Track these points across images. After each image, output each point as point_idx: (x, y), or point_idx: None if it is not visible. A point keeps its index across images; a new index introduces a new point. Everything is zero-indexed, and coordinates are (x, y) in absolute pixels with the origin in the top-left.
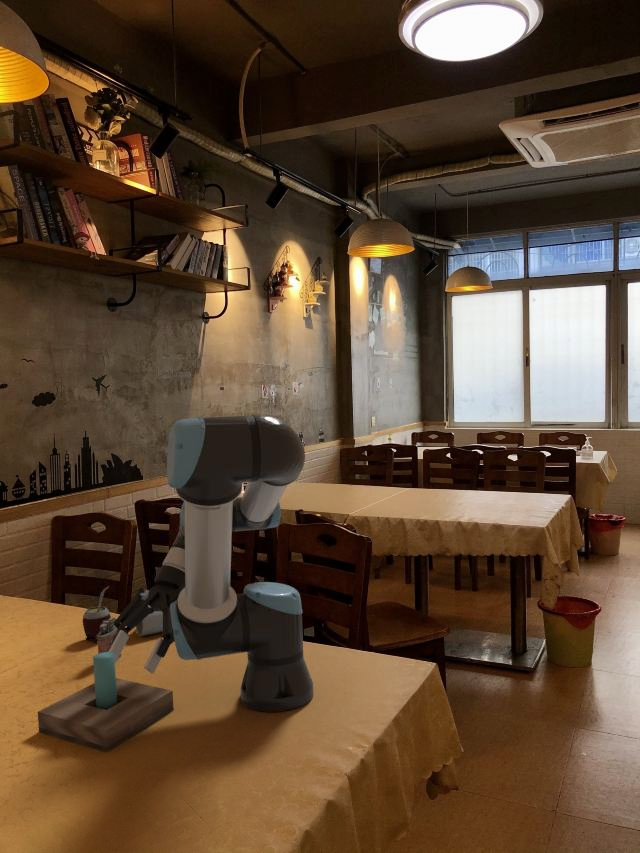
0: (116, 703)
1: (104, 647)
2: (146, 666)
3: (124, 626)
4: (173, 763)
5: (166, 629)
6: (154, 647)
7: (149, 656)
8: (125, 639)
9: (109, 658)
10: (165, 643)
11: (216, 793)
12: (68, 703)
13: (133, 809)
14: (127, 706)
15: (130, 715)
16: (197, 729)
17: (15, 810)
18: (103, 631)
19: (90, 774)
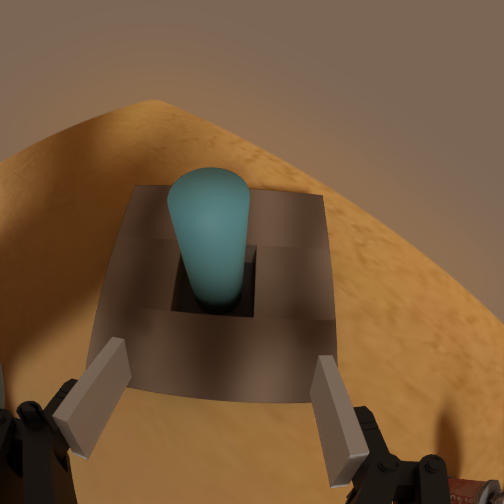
0: (191, 287)
1: (463, 491)
2: (114, 340)
3: (364, 479)
4: (45, 223)
5: (29, 451)
6: (85, 388)
7: (105, 363)
8: (329, 461)
9: (171, 189)
10: (47, 409)
11: (3, 200)
12: (296, 237)
13: (67, 153)
14: (144, 269)
15: (117, 239)
16: (36, 317)
17: (181, 114)
18: (494, 497)
19: (138, 169)
